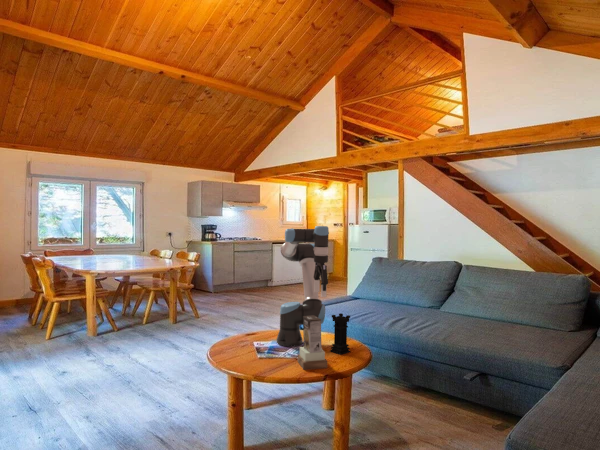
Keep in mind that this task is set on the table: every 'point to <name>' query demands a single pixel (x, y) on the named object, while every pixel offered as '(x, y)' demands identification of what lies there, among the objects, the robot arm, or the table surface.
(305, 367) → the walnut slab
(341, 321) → the chess piece
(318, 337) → the coffee box
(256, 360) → the table surface
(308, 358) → the sage block
